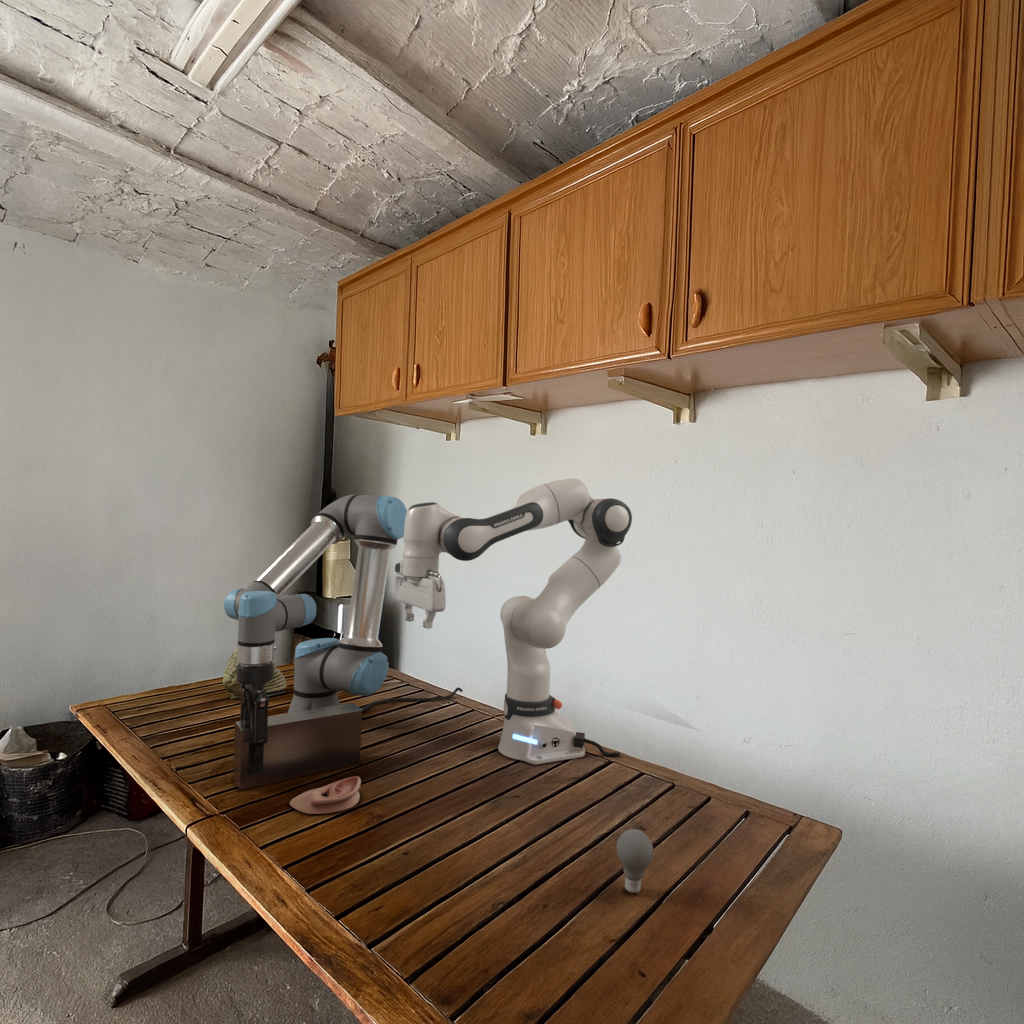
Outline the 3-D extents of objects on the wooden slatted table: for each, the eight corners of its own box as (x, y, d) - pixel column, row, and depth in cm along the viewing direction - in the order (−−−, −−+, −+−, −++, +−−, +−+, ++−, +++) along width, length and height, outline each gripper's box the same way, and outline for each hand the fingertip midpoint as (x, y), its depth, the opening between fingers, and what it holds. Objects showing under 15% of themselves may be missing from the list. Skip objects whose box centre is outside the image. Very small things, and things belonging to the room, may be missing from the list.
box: (239, 790, 135) (241, 730, 135) (233, 779, 140) (235, 721, 140) (360, 763, 151) (362, 709, 151) (350, 754, 156) (352, 702, 156)
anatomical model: (281, 790, 127) (311, 767, 138) (281, 810, 127) (310, 785, 138) (342, 799, 124) (367, 775, 136) (342, 819, 124) (367, 793, 136)
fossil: (218, 695, 195) (220, 647, 195) (278, 685, 208) (279, 640, 207) (228, 703, 189) (230, 653, 188) (289, 692, 201) (290, 645, 201)
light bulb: (610, 879, 108) (613, 822, 108) (644, 879, 109) (647, 822, 109) (619, 902, 102) (622, 840, 102) (655, 901, 103) (658, 840, 103)
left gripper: (286, 670, 133) (282, 779, 134) (261, 651, 149) (258, 749, 149) (248, 675, 129) (244, 788, 129) (227, 654, 144) (223, 755, 145)
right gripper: (453, 572, 149) (451, 631, 149) (413, 563, 165) (411, 616, 165) (429, 573, 145) (427, 633, 145) (390, 564, 161) (388, 618, 162)
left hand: (251, 766), depth 139 cm, fingers closed on box, 6 cm apart
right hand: (418, 624), depth 155 cm, fingers open, 8 cm apart
